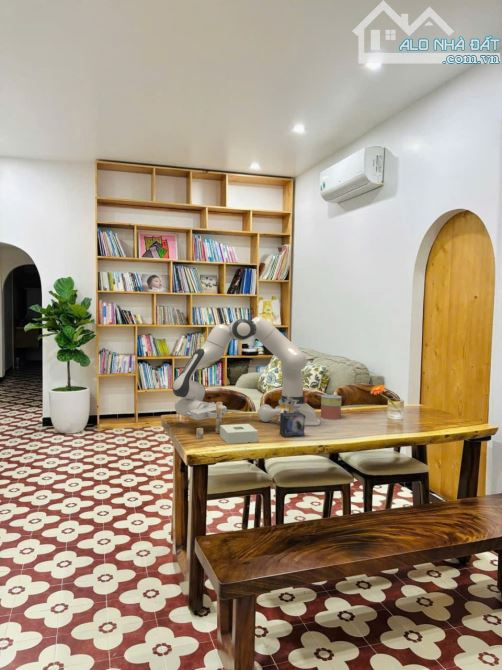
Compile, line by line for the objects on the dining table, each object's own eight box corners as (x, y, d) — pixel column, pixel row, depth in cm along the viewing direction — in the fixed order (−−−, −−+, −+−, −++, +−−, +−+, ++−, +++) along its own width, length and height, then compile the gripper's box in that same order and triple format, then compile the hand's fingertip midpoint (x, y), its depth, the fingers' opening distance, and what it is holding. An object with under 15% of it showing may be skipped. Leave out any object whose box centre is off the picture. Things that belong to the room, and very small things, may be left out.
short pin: (203, 437, 222) (203, 428, 221) (202, 439, 219) (202, 429, 218) (197, 437, 222) (197, 427, 222) (195, 439, 219) (196, 429, 219)
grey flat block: (248, 434, 230) (248, 423, 230) (257, 442, 217) (258, 431, 216) (219, 435, 226) (220, 425, 225) (227, 444, 212) (227, 432, 212)
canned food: (342, 420, 264) (343, 398, 263) (321, 419, 264) (322, 397, 264) (339, 415, 275) (339, 394, 275) (319, 415, 276) (320, 394, 275)
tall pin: (222, 430, 231) (222, 401, 230) (221, 432, 228) (221, 403, 227) (216, 430, 231) (216, 401, 230) (215, 432, 228) (215, 402, 227)
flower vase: (258, 435, 254) (292, 432, 236) (248, 401, 254) (281, 396, 236) (275, 426, 263) (309, 424, 245) (265, 394, 263) (298, 389, 245)
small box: (283, 437, 225) (284, 415, 225) (279, 434, 231) (279, 412, 231) (304, 436, 228) (305, 414, 227) (299, 433, 234) (300, 411, 234)
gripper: (184, 407, 229) (204, 411, 220) (214, 401, 245) (234, 405, 236) (184, 420, 230) (204, 425, 221) (214, 413, 245) (234, 418, 236)
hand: (220, 415), depth 228 cm, fingers closed on tall pin, 3 cm apart
